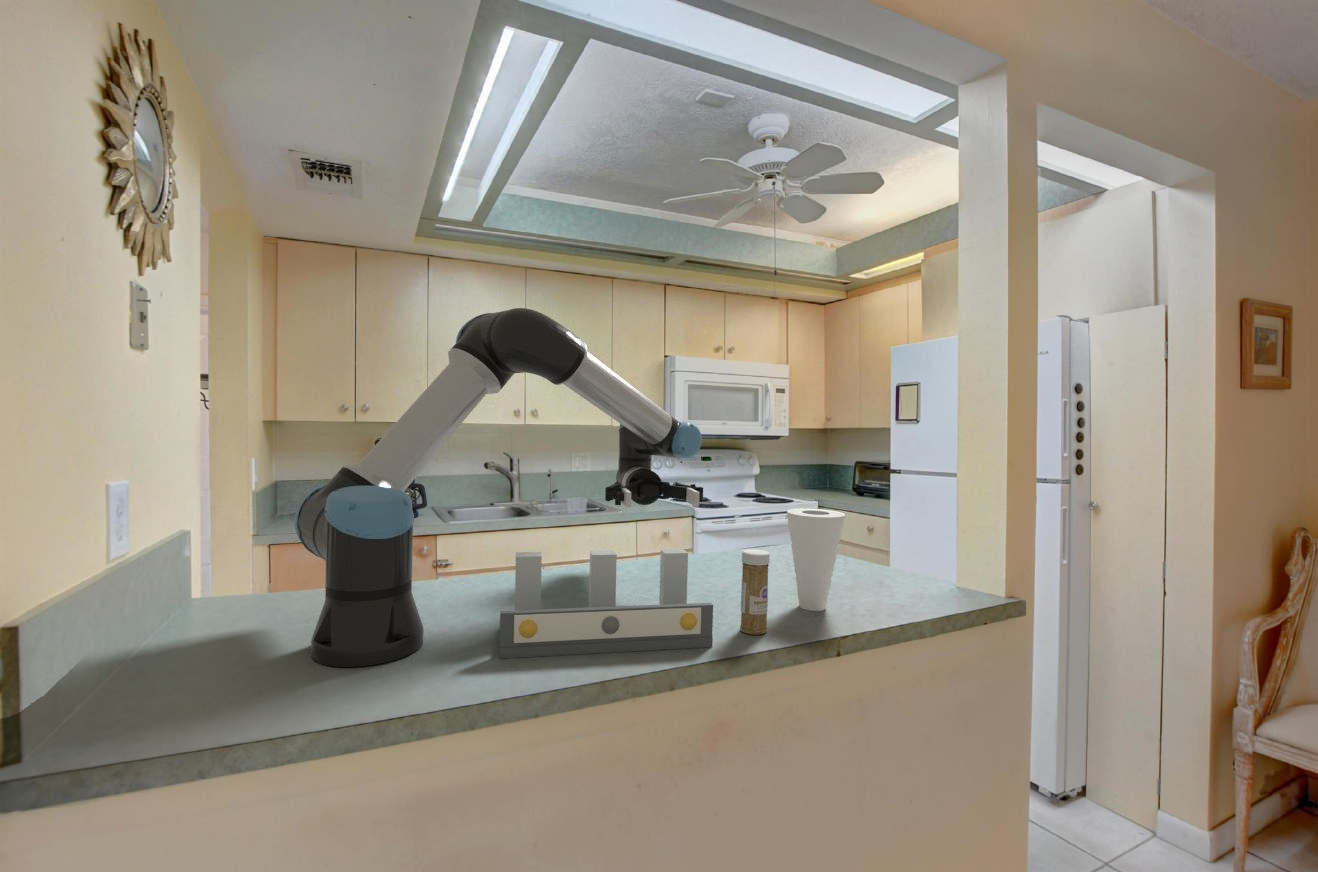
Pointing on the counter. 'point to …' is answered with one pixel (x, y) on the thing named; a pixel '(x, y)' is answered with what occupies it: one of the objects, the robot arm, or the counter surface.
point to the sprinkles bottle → (754, 591)
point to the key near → (528, 581)
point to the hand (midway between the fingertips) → (663, 499)
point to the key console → (604, 629)
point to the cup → (814, 553)
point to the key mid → (602, 579)
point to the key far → (673, 576)
